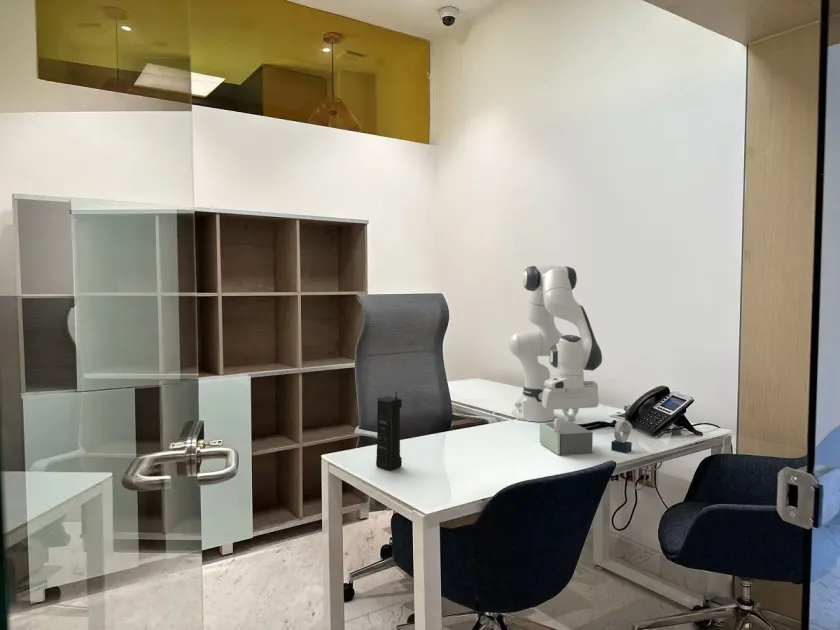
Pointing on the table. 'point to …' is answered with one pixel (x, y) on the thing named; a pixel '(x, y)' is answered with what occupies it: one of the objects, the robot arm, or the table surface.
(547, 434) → the side door
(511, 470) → the table surface
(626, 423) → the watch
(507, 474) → the table surface
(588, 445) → the case
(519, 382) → the table surface
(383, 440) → the portable radio
